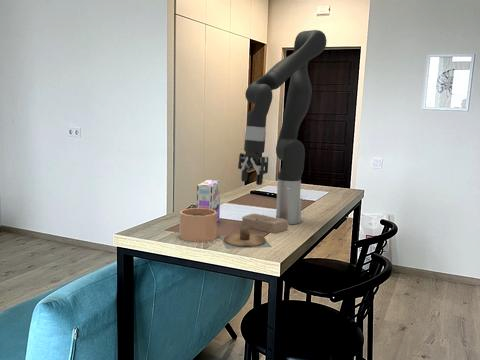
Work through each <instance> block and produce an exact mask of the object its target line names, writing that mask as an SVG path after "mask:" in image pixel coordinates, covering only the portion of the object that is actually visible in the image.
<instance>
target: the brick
mask: <svg viewBox="0 0 480 360" xmlns="http://www.w3.org/2000/svg"><path fill="white" fill-rule="evenodd" d="M241 219H242V221H241V226H248V227H250V229H253V230H255V229H256V230H258V231H263V232H266V233H269V234H270V233H271V234H279V233H282V232H285V231H287V230H288V227H289V224H288V221H287V220H285V219H281V218H276V217H271V216H269V215H264V214H260V213H251V214H246V215H244V216H242V217H241Z"/></svg>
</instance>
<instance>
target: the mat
mask: <svg viewBox="0 0 480 360" xmlns="http://www.w3.org/2000/svg"><path fill="white" fill-rule="evenodd" d="M227 235H228V234H227ZM227 235H219V238H220V240H221V242H222V243H223V245H224V247H225V249H230V250H231V249H251V248H252V249H253V248H257V249H258V248H259V249H261V248H273V247H272V244H270V243H269V242H268V240H266V241H265V244H263V245H261V246H256V247H237V246H232V245H229V244H226V243H225V242H224V237H225V236H227ZM258 235H260V236H262V237H264V236H263V235H262V234H260V233H259V234H258Z"/></svg>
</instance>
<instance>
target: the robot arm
mask: <svg viewBox="0 0 480 360" xmlns="http://www.w3.org/2000/svg"><path fill="white" fill-rule="evenodd" d="M327 42H328V41H327V36H326V35H325V33H324V32H323V31H321V30H320V29H319V30H318V29H312V30H304V31H303V30H302V31H300V32H299V33H298V34H297V35H296V37H295V40H294V45H293V53H291V54H290V55H288V56H286V57H284V58H283V59H281V60H280V61H278V62H277V63H276V64H274V65H273V66H272V67H271V68H270V69H268V71H267V72H266V73H265V74H263V75H262V76H260V77H259V78H257V79H256V80H255V81H253V82H251V83H250V85H248V87H247V88H246V91H245V99H246V100H247V102H249V103H250V104H254V106H253V109H251V110H249V111H248V113H247V116H246V128H245V133H244V145H243V151H244V152H245V153H243V152H241V153H239V155H238V165H237V168H238V170H240V171H241V177H240V178H241V182H248V175H249V174H248V170H249V169H250V168H251V167H252V168H253V170H255V171H256V180H255V184H256V185H258V186H261V185H263V182H264V181H263V180H264V175H265V174H268V171H269V156H263V153H265V148H266V136H267V132H266V131H267V130H266V129H267V116H268V113H269V110H270V108H271V104H272V101H273V91H274V90H277V89H279V88H280V87H281V86H282V85H283V84H284V83H285V82H286V81H287V80H288V79H289V78H290V80H289V85H288V89H287V94H286V95H287V96H286V99H285V100H286V101H285V108H284V113H283V117H282V124H281V125H282V126H281V128H280V132H279V135H278V138H277V143H276V147H275V154H276V157H277V158H278V159H279V160H280V161H282V166H281V170H280V171H278V172H277V182H276V183H277V186H276V189H277V190H276V211H275V212H276V215H275V218H281V219H285V220H287V221H288V225H297V224H301V223H302V222H301V221H302V203H303V202H302V201H303V200H302V199H301V190H302V189H301V186H302V175H303V173H304V168H305V158H306V151H305V146H304V144H303V143H302V141H300V140H298V133H299V129H300V126H301V124H302V122H303V120H304V118H305V116H306V115H307V113H308V111H309V107H310V104H311V99H312V95H313V94H312V93H313V91H312V90H313V89H312V88H313V87H312V83H311V81H310V77H309V73H308V72H309V71H308V65H309V62H310V61H311V60H313V59H314V58H316V57H317V56H319V55H320V54H322V53H323V51H324V50H325V48H326V46H327Z"/></svg>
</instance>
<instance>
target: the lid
mask: <svg viewBox="0 0 480 360" xmlns="http://www.w3.org/2000/svg"><path fill="white" fill-rule="evenodd" d="M239 229H240V230H239V233H230V234H227V236H225V237H224V242H225V243H226V244H229V245H232V246H237V247H256V246H261V245H263V244H265V241H267V240H266V238H265V237H264V236H263V235H262V236H263V237H262V236H260V235H259V234H254V233H251V228H250V227H248V226H242V225H241V226H240V228H239Z"/></svg>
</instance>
